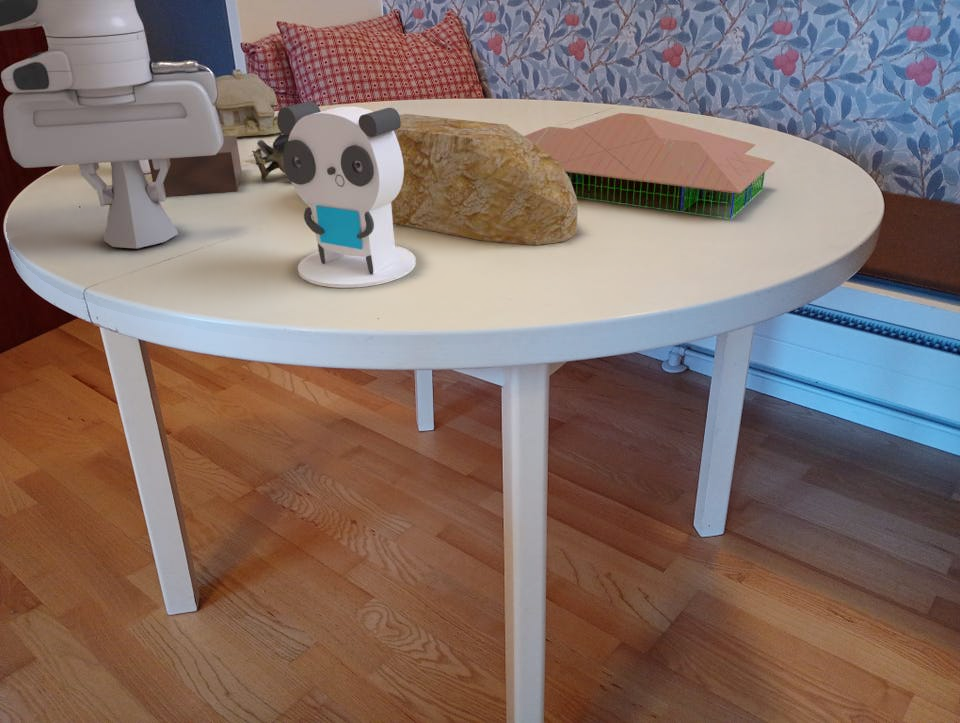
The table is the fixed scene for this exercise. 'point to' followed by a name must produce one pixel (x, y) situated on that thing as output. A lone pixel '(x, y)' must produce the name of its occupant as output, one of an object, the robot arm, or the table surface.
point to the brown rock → (481, 183)
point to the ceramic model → (245, 105)
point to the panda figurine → (347, 191)
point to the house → (656, 157)
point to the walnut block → (203, 172)
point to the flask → (135, 210)
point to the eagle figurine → (271, 155)
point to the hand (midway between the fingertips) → (133, 202)
